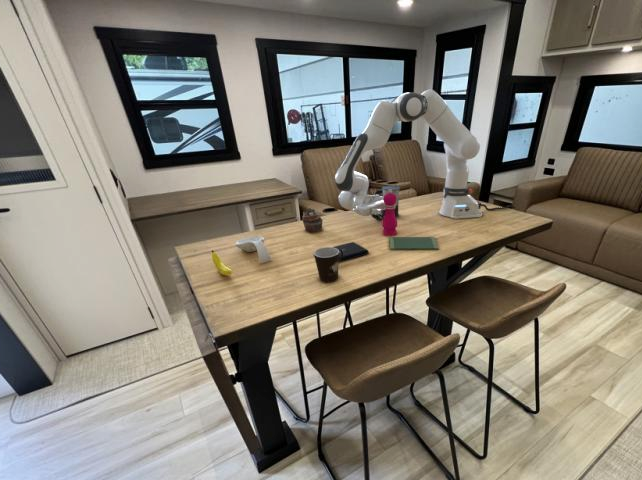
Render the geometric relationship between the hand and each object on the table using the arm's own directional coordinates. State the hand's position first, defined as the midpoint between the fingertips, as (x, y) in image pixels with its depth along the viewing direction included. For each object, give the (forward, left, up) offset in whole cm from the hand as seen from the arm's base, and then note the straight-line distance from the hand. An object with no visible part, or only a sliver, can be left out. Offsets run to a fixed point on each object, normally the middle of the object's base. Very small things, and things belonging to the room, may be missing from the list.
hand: (387, 209), depth 144 cm
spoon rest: (+55, +24, -11) cm, 61 cm away
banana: (+61, +43, -11) cm, 75 cm away
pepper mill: (-1, +1, -11) cm, 11 cm away
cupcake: (+36, -4, -11) cm, 38 cm away
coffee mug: (+20, +45, -11) cm, 50 cm away
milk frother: (+1, -23, -11) cm, 26 cm away
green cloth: (-11, +14, -11) cm, 21 cm away
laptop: (+19, +25, -11) cm, 33 cm away
